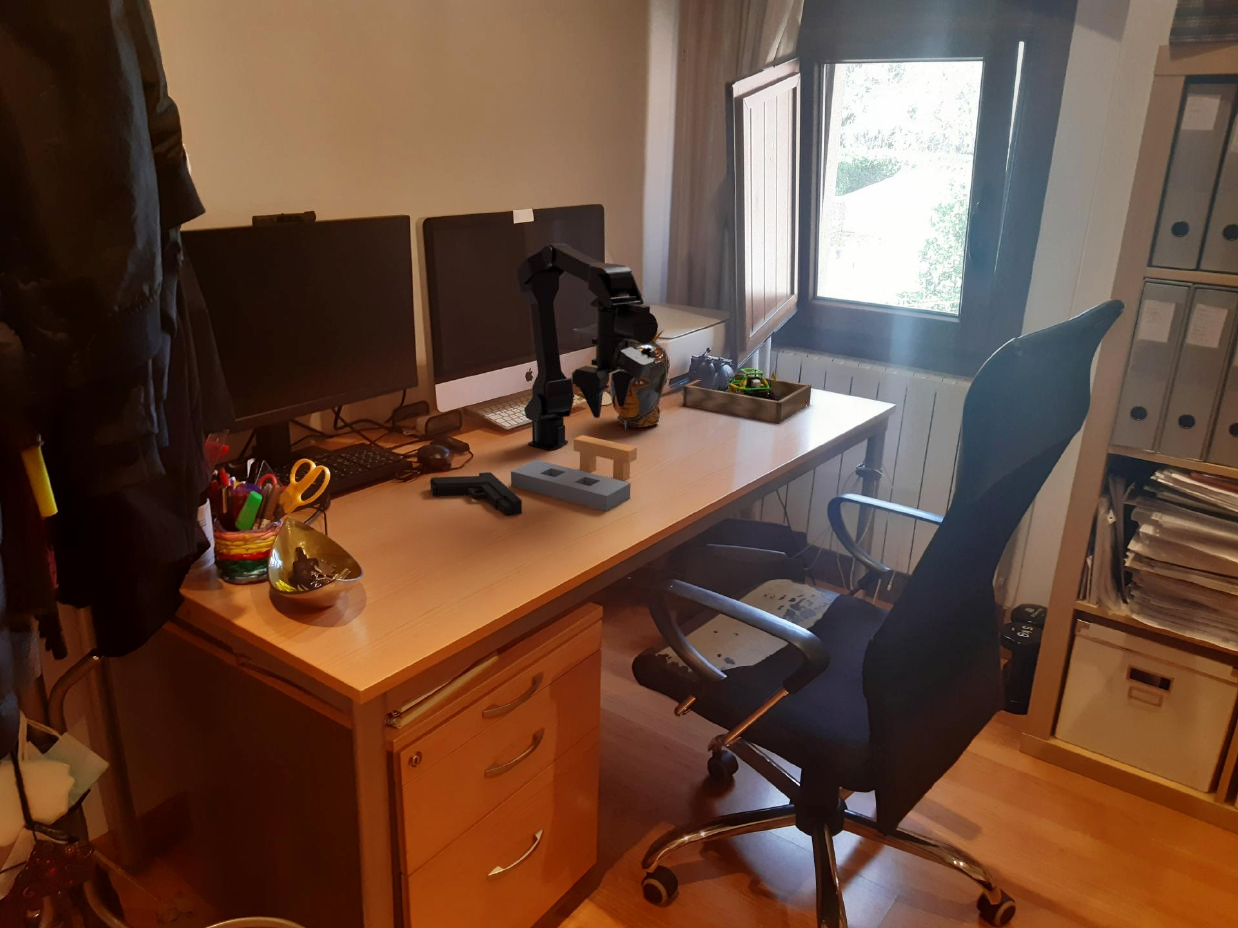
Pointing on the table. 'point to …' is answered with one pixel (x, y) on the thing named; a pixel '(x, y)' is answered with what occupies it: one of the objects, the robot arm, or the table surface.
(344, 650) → the table surface
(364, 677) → the table surface
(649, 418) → the mask
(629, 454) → the wooden arch block
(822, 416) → the table surface
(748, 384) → the motor vehicle
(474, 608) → the table surface
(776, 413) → the tray
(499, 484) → the handgun
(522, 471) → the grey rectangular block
